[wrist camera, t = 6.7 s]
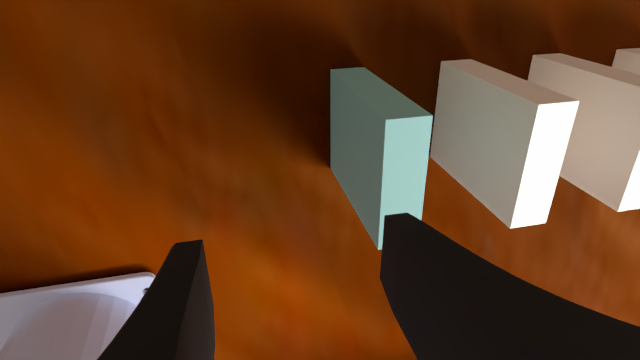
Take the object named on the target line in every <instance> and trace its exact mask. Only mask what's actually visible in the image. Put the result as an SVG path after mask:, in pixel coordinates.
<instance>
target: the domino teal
mask: <svg viewBox="0 0 640 360" xmlns="http://www.w3.org/2000/svg"><path fill="white" fill-rule="evenodd" d="M432 120H433V115H432V114H430V113H429V112H427V111H426V110H425V109H423V108H422V107H420V106H419V105H417V104H416V103H415V102H413V101H412V100H410V99H409V98H407V97H406V96H405V95H403V94H402V93H400V92H399V91H397V90H396V89H395V88H393V87H392V86H390V85H389V84H388V83H386V82H385V81H383V80H382V79H380V78H379V77H378V76H376V75H375V74H373V73H372V72H370V71H369V70H368V69H366V68H365V67H357V68H343V69H330V129H331V170H332V172H333V174H334V175H335V177H336V179H337V180H338V182H339V184H340V186H341V187H342V189H343V191H344V192H345V194H346V196H347V198H348V199H349V201H350V203H351V204H352V206H353V208H354V210H355V211H356V213H357V215H358V216H359V218H360V220H361V222H362V223H363V225H364V227H365V228H366V230H367V232H368V234H369V235H370V237H371V239H372V240H373V242H374V244H375V245H376V247H377V249H378V250H380V249H382V243H383V230H384V216H385V215H391V214H399V213H409V214H411V215H413V216H414V217H416V218H418V219H419V220H421V218H422V209H423V200H424V191H425V182H426V173H427V164H428V156H429V147H430V138H431V129H432Z"/></svg>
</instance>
